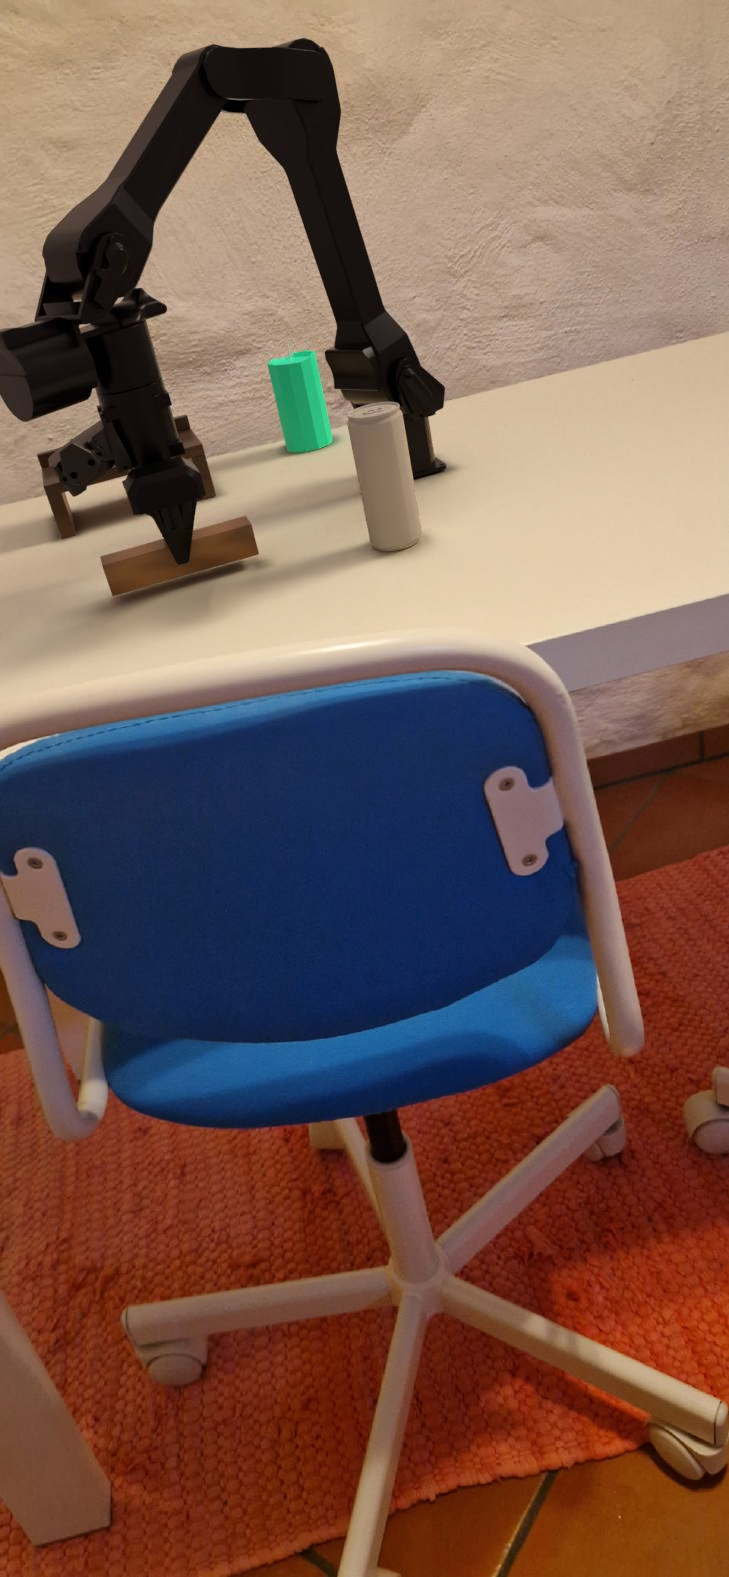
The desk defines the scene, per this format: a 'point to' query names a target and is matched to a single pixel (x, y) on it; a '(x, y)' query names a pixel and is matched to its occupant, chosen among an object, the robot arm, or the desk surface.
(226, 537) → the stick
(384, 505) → the beverage can
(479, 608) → the desk surface
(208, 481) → the shelf
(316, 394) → the candle
